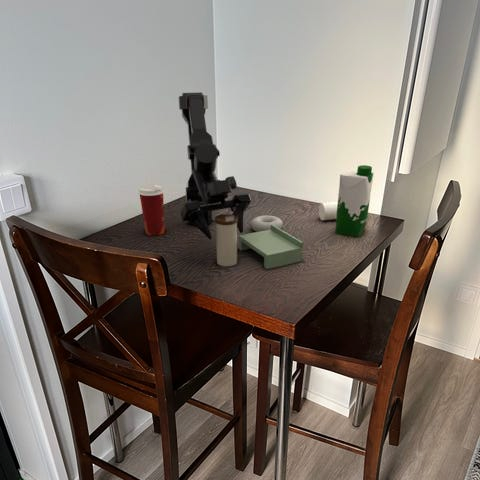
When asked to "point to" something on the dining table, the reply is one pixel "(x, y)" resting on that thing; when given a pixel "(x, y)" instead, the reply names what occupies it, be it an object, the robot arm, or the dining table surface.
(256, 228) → the donut
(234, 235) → the canister
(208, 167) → the robot arm
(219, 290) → the dining table surface
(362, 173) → the milk carton
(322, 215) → the roll
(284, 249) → the shelf
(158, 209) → the paper cup
